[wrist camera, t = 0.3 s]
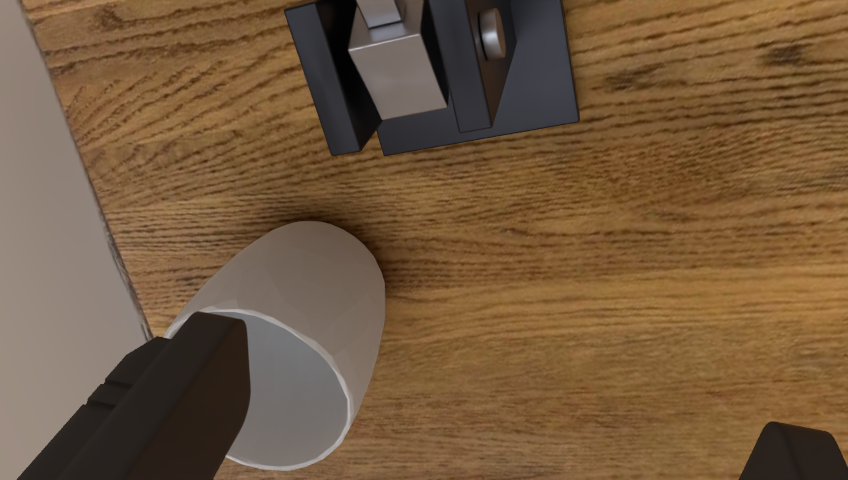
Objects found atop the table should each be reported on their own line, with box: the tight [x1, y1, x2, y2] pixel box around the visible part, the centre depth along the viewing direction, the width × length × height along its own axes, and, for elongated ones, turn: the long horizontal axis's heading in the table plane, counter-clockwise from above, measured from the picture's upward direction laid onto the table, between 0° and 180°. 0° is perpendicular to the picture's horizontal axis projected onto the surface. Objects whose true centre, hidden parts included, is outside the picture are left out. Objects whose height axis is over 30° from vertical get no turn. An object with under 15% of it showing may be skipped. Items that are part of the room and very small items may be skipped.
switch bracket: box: [284, 0, 580, 156], centre depth 24 cm, size 12×9×12 cm
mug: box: [163, 221, 385, 471], centre depth 34 cm, size 13×9×10 cm
